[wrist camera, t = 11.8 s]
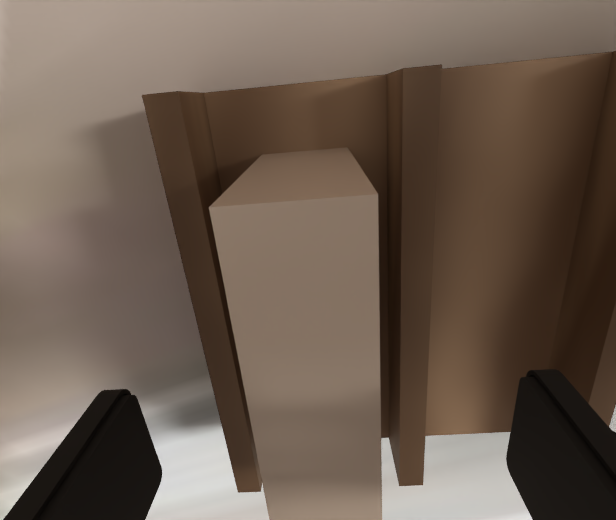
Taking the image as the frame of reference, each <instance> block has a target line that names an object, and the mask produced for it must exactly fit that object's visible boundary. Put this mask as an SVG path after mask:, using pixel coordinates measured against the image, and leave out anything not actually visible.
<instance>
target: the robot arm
mask: <svg viewBox="0 0 616 520" xmlns="http://www.w3.org/2000/svg"><path fill="white" fill-rule="evenodd" d="M506 460H507V466H508V470H509V472H510V475H511V477H512V479H513V481H514V483H515V485H516V487H517V489H518V491H519V493H520V495H521V497H522V499H523V501H524V503H525V505H526V507H527V509H528V511H529V513H530V515H531V517H532V519H533V520H616V433H615V432H614V431H612V430H611V429H610V428H609V427H608V425H607V424H606V423H605V422H604V421H603V420H602V419H601V417H600V416H599V415H598V414H597V413H596V412H595V411H594V409H593V408H592V407H591V406H590V405H589V404H588V403H587V401H586V400H585V399H584V398H583V397H582V396H581V394H580V393H579V392H578V391H577V390H576V389H575V388H574V386H573V385H572V384H571V383H570V382H569V381H568V380H567V378H566V377H565V376H564V375H563V374H562V373H561V372H560V371H559V370H557V369H544V370H529V371H528V372H527V374H526V377H521V378H520V380H519V385H518V391H517V397H516V403H515V409H514V415H513V421H512V427H511V433H510V439H509V445H508V451H507V458H506ZM161 478H162V468H161V465H160V462H159V459H158V456H157V454H156V451H155V448H154V445H153V442H152V439H151V437H150V434H149V431H148V428H147V425H146V422H145V419H144V417H143V414H142V411H141V408H140V405H139V402H138V400H137V397H136V396H135V395H131V393H130V391H129V390H127V389H119V390H104V391H101V392H100V393H99V394H98V395H97V396H96V398H95V399H94V400H93V402H92V403H91V404H90V406H89V407H88V408H87V410H86V411H85V412H84V414H83V415H82V416H81V418H80V419H79V420H78V422H77V423H76V424H75V426H74V427H73V428H72V430H71V431H70V432H69V434H68V435H67V436H66V437H65V439H64V440H63V441H62V443H61V444H60V445H59V447H58V448H57V449H56V451H55V452H54V453H53V455H52V456H51V457H50V459H49V460H48V461H47V463H46V464H45V465H44V467H43V468H42V469H41V471H40V472H39V473H38V474H37V476H36V477H35V478H34V480H33V481H32V482H31V484H30V485H29V486H28V488H27V489H26V490H25V492H24V493H23V494H22V496H21V497H20V498H19V500H18V501H17V502H16V504H15V505H14V506H13V508H12V509H11V510H10V512H9V513H8V514H7V515H6V517H5V518H4V519H3V520H145V519H146V516H147V514H148V511H149V509H150V507H151V504H152V502H153V500H154V497H155V495H156V492H157V490H158V488H159V485H160V482H161Z"/></svg>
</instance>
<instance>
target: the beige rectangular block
mask: <svg viewBox="0 0 616 520" xmlns="http://www.w3.org/2000/svg"><path fill="white" fill-rule="evenodd" d="M209 211H210V216H211V221H212V226H213V231H214V236H215V241H216V247H217V252H218V257H219V262H220V267H221V272H222V277H223V283H224V288H225V293H226V298H227V303H228V308H229V313H230V319H231V324H232V329H233V334H234V339H235V344H236V349H237V354H238V360H239V365H240V370H241V375H242V380H243V385H244V390H245V396H246V401H247V406H248V411H249V416H250V421H251V426H252V432H253V437H254V442H255V447H256V452H257V457H258V462H259V468H260V473H261V478H262V483H263V488H264V493H265V498H266V503H267V509H268V514H269V519H270V520H382V479H381V395H380V310H379V225H378V193H377V192H376V190H375V189H374V187H373V185H372V184H371V182H370V181H369V179H368V178H367V176H366V175H365V173H364V172H363V170H362V169H361V167H360V165H359V164H358V162H357V161H356V159H355V158H354V156H353V155H352V153H351V152H350V150H349V149H348V147H345V148H333V149H322V150H310V151H298V152H287V153H275V154H263V155H261V156H260V157H259V158H258V159H257V160H256V161H255V162H254V163H253V164H252V165H251V166H250V167H249V168H248V169H247V170H246V171H245V172H244V173H243V174H242V175H241V176H240V177H239V178H238V179H237V180H236V181H235V182H234V183H233V184H232V185H231V186H230V187H229V188H228V189H227V190H226V191H225V192H224V193H223V194H222V195H221V196H220V197H219V198H218V199H217V200H216V201H215V202H214V203H213V204H212V205H211V206H210V207H209Z"/></svg>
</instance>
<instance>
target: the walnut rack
mask: <svg viewBox="0 0 616 520" xmlns="http://www.w3.org/2000/svg"><path fill="white" fill-rule="evenodd" d="M142 98H143V102H144V106H145V110H146V114H147V118H148V122H149V127H150V131H151V135H152V139H153V143H154V147H155V151H156V155H157V160H158V164H159V168H160V172H161V176H162V180H163V184H164V188H165V193H166V197H167V201H168V205H169V209H170V213H171V217H172V221H173V226H174V230H175V234H176V238H177V242H178V246H179V250H180V254H181V259H182V263H183V267H184V271H185V275H186V279H187V283H188V288H189V292H190V296H191V300H192V304H193V308H194V312H195V316H196V321H197V325H198V329H199V333H200V337H201V341H202V345H203V349H204V354H205V358H206V362H207V366H208V370H209V374H210V378H211V382H212V387H213V391H214V395H215V399H216V403H217V407H218V411H219V415H220V420H221V424H222V428H223V432H224V436H225V440H226V444H227V448H228V453H229V457H230V461H231V465H232V469H233V473H234V477H235V481H236V486H237V490H238V492H261V486H262V478H261V473H260V468H259V462H258V457H257V452H256V447H255V442H254V437H253V432H252V426H251V421H250V416H249V411H248V406H247V401H246V396H245V390H244V385H243V380H242V375H241V370H240V365H239V360H238V354H237V349H236V344H235V339H234V334H233V329H232V324H231V319H230V313H229V308H228V303H227V298H226V293H225V288H224V283H223V277H222V272H221V267H220V262H219V257H218V252H217V247H216V241H215V236H214V231H213V226H212V221H211V216H210V211H209V207H210V206H211V205H212V204H213V203H214V202H215V201H216V200H217V199H218V198H219V197H220V196H221V195H222V194H223V193H224V192H225V191H226V190H227V189H228V188H229V187H230V186H231V185H232V184H233V183H234V182H235V181H236V180H237V179H238V178H239V177H240V176H241V175H242V174H243V173H244V172H245V171H246V170H247V169H248V168H249V167H250V166H251V165H252V164H253V163H254V162H255V161H256V160H257V159H258V158H259V157H260V156H261V155H263V154H275V153H287V152H298V151H310V150H322V149H333V148H345V147H348V149H349V150H350V152H351V153H352V155H353V156H354V158H355V159H356V161H357V162H358V164H359V165H360V167H361V169H362V170H363V172H364V173H365V175H366V176H367V178H368V179H369V181H370V182H371V184H372V185H373V187H374V189H375V190H376V192H377V193H378V225H379V310H380V395H381V438H387V437H389V440H390V445H391V449H392V454H393V459H394V463H395V468H396V473H397V478H398V482H399V486H411V485H423V473H424V451H425V436H429V435H451V434H472V433H493V432H511V427H512V421H513V415H514V409H515V403H516V397H517V391H518V385H519V380H520V378H521V377H526V374H527V372H528V371H529V370H544V369H557V370H559V371H560V372H561V373H562V374H563V375H564V376H565V377H566V378H567V380H568V381H569V382H570V383H571V384H572V385H573V386H574V388H575V389H576V390H577V391H578V392H579V393H580V394H581V396H582V397H583V398H584V399H585V400H586V401H587V403H588V404H589V405H590V406H591V407H592V408H593V409H594V411H595V412H596V413H597V414H598V415H599V416H600V417H601V419H602V420H603V421H604V422H605V423H606V424H607V425H608V427H609V425H610V422H611V418H612V415H613V412H614V409H615V405H616V51H614V52H605V53H595V54H585V55H576V56H566V57H556V58H546V59H536V60H526V61H516V62H506V63H496V64H486V65H476V66H466V67H456V68H447V69H442V65H433V66H423V67H413V68H403V69H400V70H398V71H395V72H392V73H389V74H387V75H377V76H367V77H357V78H347V79H337V80H327V81H317V82H308V83H298V84H288V85H278V86H268V87H258V88H248V89H238V90H228V91H218V92H208V93H196V92H180V91H176V92H167V93H157V94H147V95H142Z"/></svg>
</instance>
